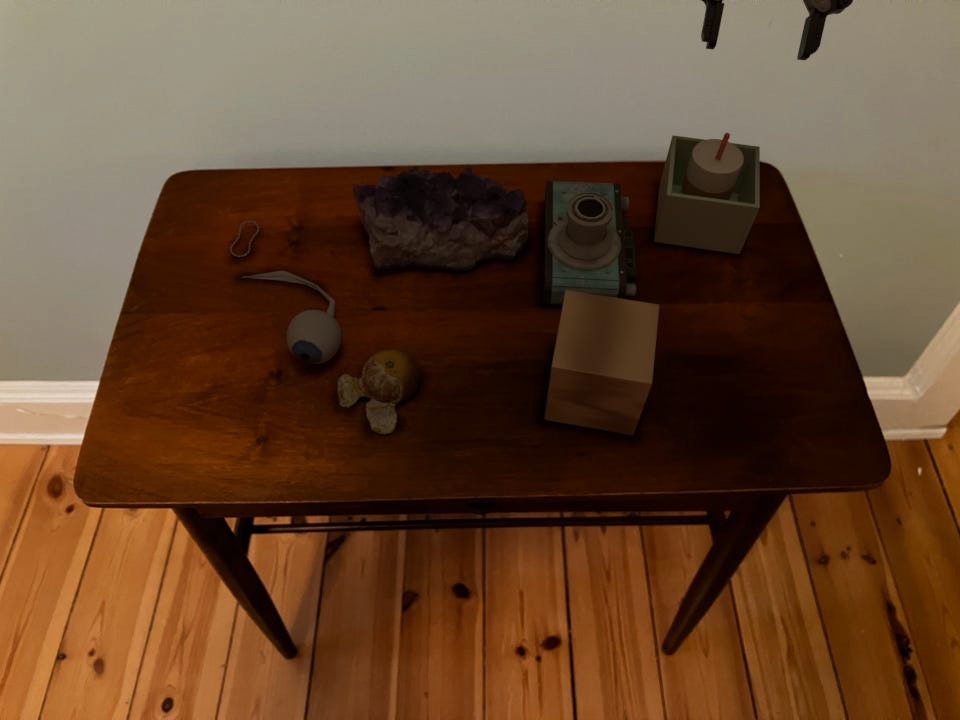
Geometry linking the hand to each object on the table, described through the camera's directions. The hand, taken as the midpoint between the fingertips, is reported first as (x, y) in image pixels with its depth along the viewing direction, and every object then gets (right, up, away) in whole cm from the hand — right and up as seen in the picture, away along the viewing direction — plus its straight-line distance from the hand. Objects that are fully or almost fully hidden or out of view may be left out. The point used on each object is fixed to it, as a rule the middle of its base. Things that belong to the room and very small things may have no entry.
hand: (757, 53), depth 70 cm
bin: (0, -12, +20) cm, 23 cm away
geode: (-30, -15, +19) cm, 39 cm away
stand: (-14, -32, +7) cm, 36 cm away
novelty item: (-47, -25, +12) cm, 55 cm away
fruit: (-37, -32, +7) cm, 50 cm away
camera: (-14, -17, +17) cm, 28 cm away
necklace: (-54, -15, +18) cm, 59 cm away
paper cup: (0, -11, +20) cm, 23 cm away
